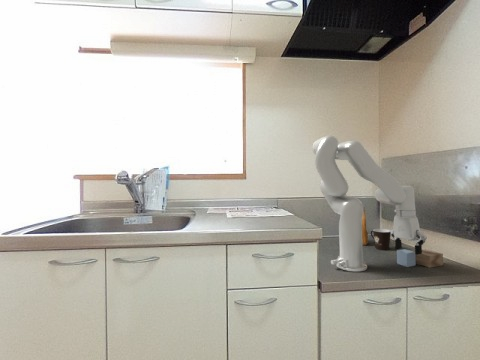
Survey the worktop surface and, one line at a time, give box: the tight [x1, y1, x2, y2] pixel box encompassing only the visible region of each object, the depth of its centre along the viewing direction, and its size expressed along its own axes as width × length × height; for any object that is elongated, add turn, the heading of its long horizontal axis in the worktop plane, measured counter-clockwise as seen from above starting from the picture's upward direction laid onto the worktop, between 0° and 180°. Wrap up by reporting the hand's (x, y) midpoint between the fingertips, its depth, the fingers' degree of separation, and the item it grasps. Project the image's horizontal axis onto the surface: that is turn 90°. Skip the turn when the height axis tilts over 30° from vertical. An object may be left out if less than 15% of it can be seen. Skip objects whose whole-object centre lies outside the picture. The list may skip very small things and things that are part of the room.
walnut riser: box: [412, 248, 444, 268], centre depth 117 cm, size 8×8×5 cm
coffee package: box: [362, 206, 369, 246], centre depth 154 cm, size 10×12×22 cm
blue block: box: [396, 248, 417, 268], centre depth 117 cm, size 5×5×6 cm
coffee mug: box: [370, 228, 392, 251], centre depth 144 cm, size 12×9×10 cm
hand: (408, 251), depth 117 cm, fingers open, 9 cm apart
